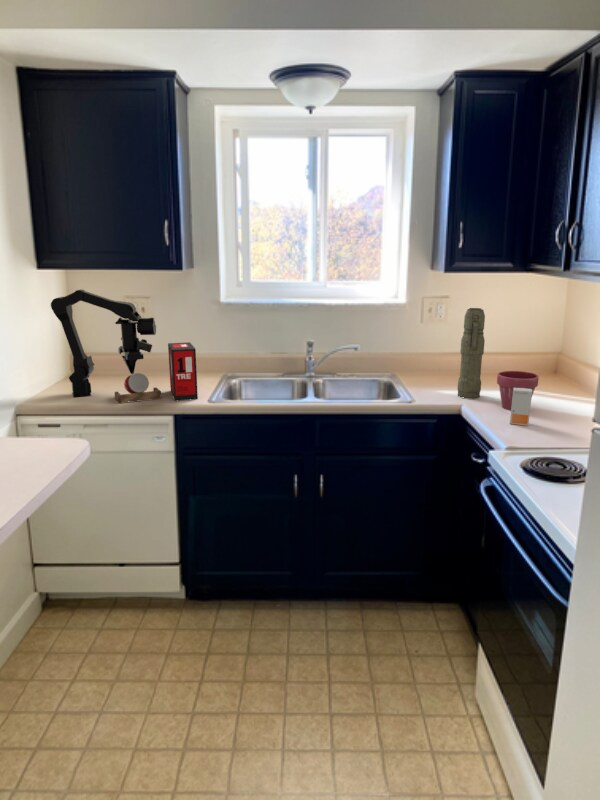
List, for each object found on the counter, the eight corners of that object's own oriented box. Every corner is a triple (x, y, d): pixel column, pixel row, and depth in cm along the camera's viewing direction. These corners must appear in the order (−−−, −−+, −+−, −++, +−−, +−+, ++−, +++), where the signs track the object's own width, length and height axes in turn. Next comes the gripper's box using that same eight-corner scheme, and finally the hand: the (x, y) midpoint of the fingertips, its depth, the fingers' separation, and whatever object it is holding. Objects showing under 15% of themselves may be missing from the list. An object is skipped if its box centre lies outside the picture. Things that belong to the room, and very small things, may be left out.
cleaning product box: (197, 399, 228) (195, 348, 222) (174, 400, 225) (171, 350, 220) (192, 389, 243) (190, 342, 238) (170, 391, 240) (168, 343, 235)
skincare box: (509, 424, 195) (513, 389, 192) (509, 420, 199) (513, 387, 196) (528, 426, 193) (532, 391, 190) (528, 422, 197) (532, 388, 194)
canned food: (135, 398, 234) (141, 396, 225) (119, 385, 232) (124, 383, 222) (147, 383, 237) (153, 381, 227) (131, 371, 234) (136, 368, 224)
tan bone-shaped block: (118, 403, 221) (117, 395, 220) (115, 399, 227) (114, 391, 226) (161, 398, 228) (160, 391, 227) (156, 394, 234) (156, 387, 233)
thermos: (460, 399, 227) (467, 310, 218) (454, 392, 238) (460, 307, 229) (483, 400, 226) (491, 310, 217) (476, 392, 238) (483, 307, 229)
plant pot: (486, 406, 217) (489, 373, 214) (509, 401, 225) (512, 368, 222) (520, 415, 206) (523, 380, 203) (543, 409, 214) (546, 375, 210)
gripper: (155, 336, 224) (157, 376, 228) (144, 330, 240) (146, 367, 244) (126, 338, 219) (129, 379, 223) (116, 332, 235) (119, 370, 239)
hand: (132, 373), depth 232 cm, fingers closed
